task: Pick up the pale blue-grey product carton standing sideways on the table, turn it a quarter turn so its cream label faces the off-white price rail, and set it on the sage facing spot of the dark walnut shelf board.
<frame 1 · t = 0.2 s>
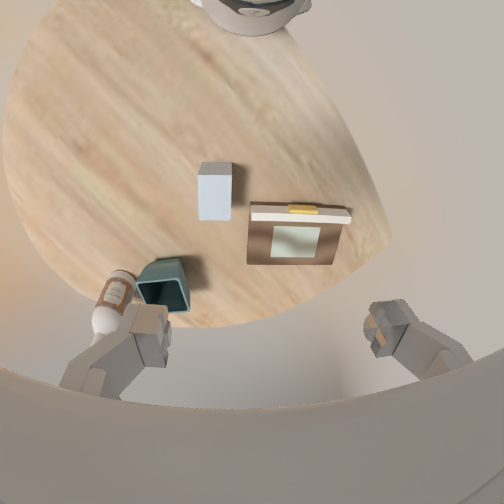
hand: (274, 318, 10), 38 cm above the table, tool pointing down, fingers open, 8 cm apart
shelf board: (294, 233, 53), on the table
product carton: (216, 182, 46), on the table
price rail: (300, 210, 49), resting on shelf board
bath foam: (123, 280, 58), on the table
flower pot: (170, 267, 56), on the table
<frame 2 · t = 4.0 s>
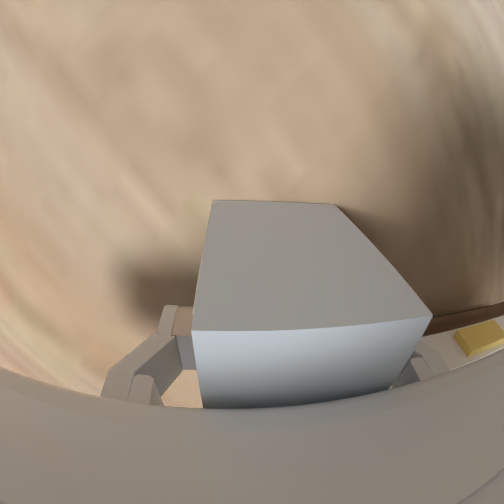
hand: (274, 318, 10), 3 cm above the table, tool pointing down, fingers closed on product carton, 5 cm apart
shelf board: (424, 369, 19), on the table
product carton: (268, 280, 13), on the table, touching gripper
price rail: (465, 333, 15), resting on shelf board
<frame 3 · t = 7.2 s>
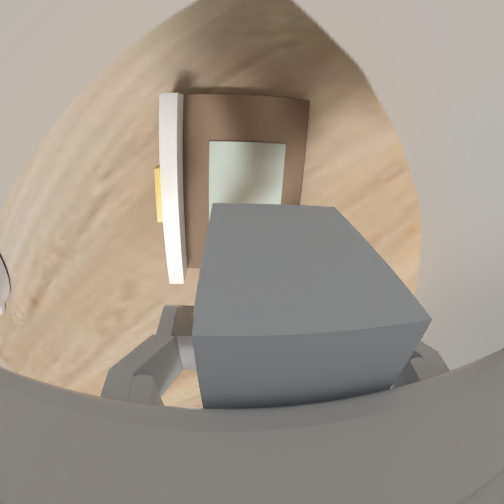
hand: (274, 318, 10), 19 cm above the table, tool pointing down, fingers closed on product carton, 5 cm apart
shelf board: (234, 183, 27), on the table
product carton: (268, 282, 13), point 17 cm above the table, touching gripper
price rail: (175, 187, 25), resting on shelf board
when the fingers open (6 cm above the table, at t = 10.7 s): product carton drops 1 cm, resting on shelf board.
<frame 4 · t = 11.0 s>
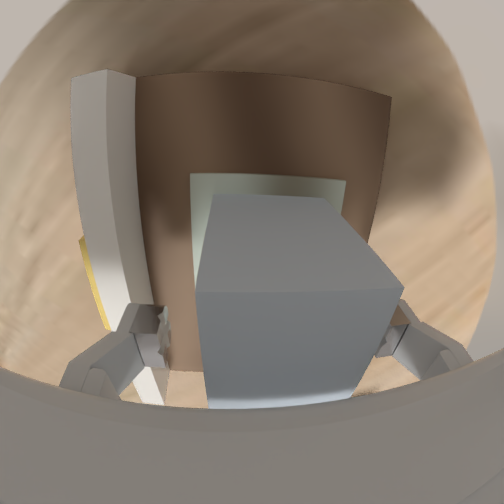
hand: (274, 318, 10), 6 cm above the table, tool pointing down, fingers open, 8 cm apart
shelf board: (242, 249, 15), on the table
product carton: (264, 267, 14), point 2 cm above the table, touching shelf board
price rail: (133, 261, 13), resting on shelf board
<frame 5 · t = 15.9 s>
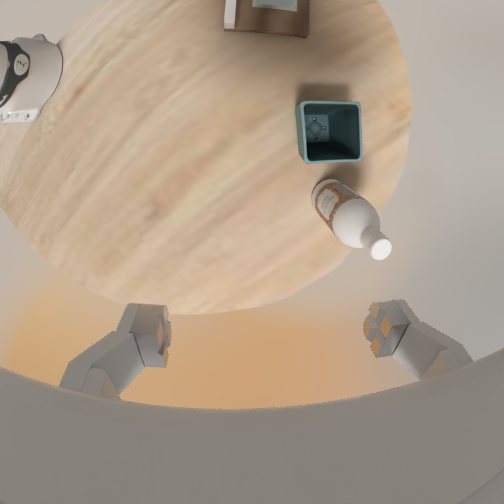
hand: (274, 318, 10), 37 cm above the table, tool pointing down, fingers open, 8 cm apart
bath foam: (328, 196, 47), on the table
flower pot: (314, 127, 41), on the table
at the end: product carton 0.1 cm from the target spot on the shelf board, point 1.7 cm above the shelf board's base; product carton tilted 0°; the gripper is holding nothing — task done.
